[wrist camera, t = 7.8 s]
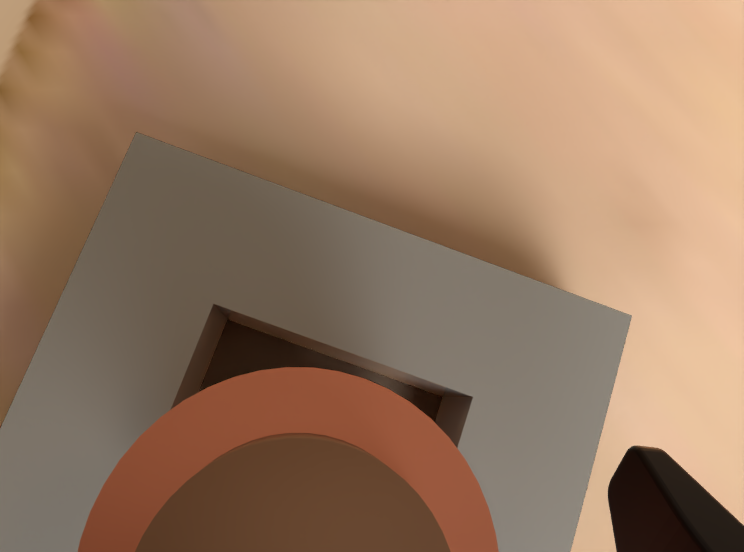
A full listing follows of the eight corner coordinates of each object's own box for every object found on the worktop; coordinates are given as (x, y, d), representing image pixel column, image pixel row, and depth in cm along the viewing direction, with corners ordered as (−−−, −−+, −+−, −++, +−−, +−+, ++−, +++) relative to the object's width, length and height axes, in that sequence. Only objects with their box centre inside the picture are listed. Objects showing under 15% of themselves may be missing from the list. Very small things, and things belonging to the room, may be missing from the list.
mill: (395, 542, 16) (584, 815, 6) (219, 583, 16) (61, 975, 5) (363, 369, 17) (478, 325, 6) (193, 401, 17) (5, 412, 6)
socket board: (445, 802, 16) (480, 896, 13) (-44, 642, 15) (-126, 702, 12) (576, 328, 18) (631, 315, 15) (162, 176, 17) (136, 132, 15)
